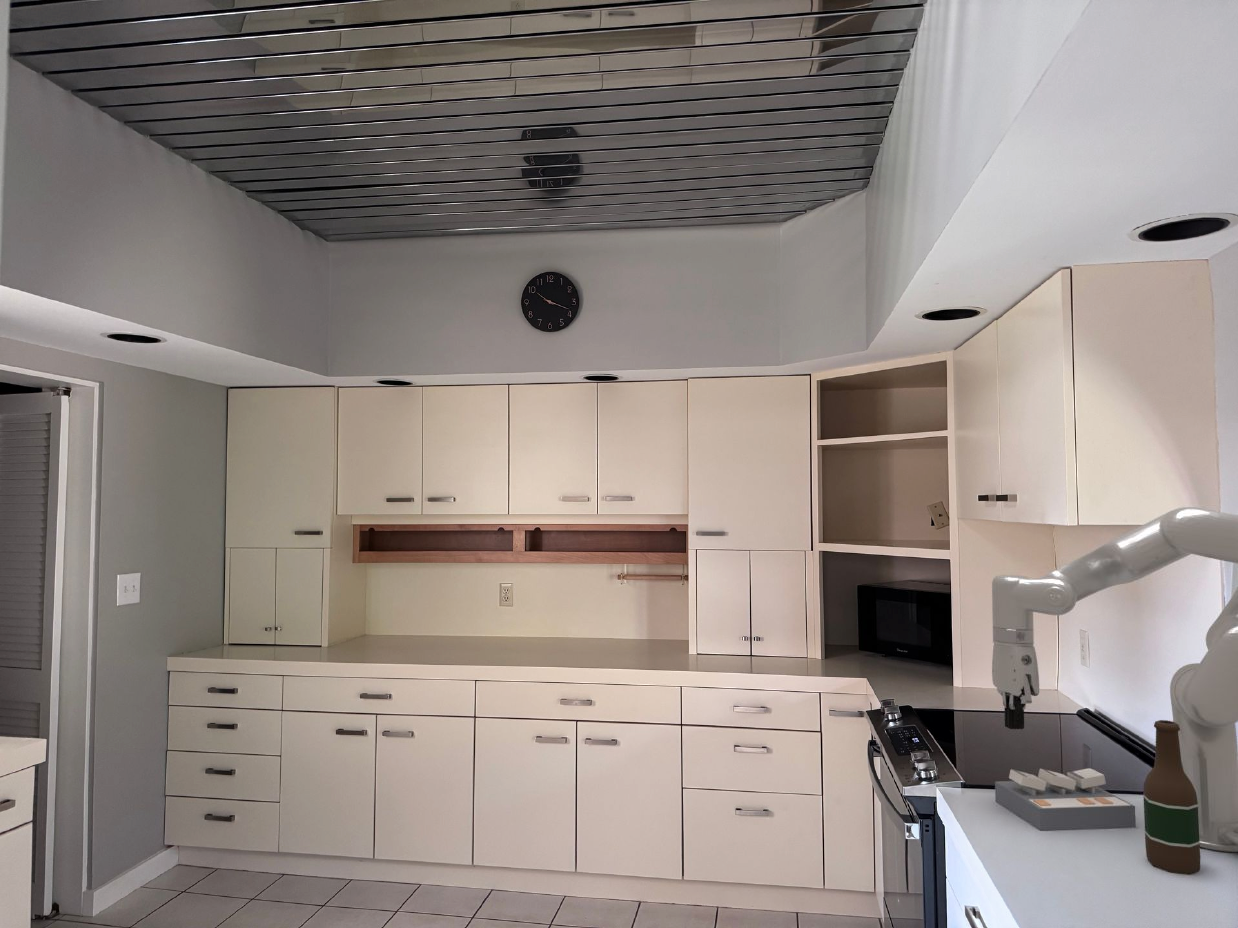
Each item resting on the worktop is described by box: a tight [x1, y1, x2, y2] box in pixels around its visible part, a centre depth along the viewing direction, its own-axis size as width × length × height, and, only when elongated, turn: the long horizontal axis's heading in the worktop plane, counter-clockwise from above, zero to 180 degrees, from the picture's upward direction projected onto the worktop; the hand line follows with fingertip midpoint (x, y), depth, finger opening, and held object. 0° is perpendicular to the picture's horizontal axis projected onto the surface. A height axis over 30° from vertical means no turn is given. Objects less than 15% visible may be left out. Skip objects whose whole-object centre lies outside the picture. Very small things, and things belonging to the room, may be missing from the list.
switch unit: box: [994, 780, 1137, 831], centre depth 164 cm, size 16×19×5 cm
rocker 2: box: [1066, 767, 1107, 789], centre depth 166 cm, size 4×5×2 cm
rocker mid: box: [1037, 768, 1076, 790], centre depth 165 cm, size 4×5×2 cm
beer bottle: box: [1143, 719, 1201, 875], centre depth 140 cm, size 8×8×24 cm
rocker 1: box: [1008, 769, 1046, 791], centre depth 165 cm, size 4×5×2 cm
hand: (1014, 727), depth 166 cm, fingers closed
